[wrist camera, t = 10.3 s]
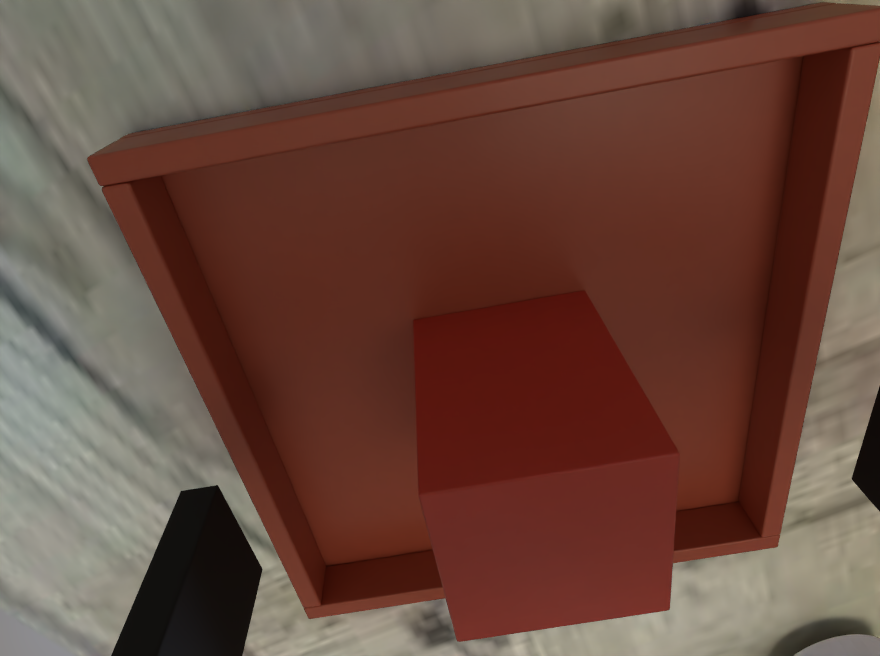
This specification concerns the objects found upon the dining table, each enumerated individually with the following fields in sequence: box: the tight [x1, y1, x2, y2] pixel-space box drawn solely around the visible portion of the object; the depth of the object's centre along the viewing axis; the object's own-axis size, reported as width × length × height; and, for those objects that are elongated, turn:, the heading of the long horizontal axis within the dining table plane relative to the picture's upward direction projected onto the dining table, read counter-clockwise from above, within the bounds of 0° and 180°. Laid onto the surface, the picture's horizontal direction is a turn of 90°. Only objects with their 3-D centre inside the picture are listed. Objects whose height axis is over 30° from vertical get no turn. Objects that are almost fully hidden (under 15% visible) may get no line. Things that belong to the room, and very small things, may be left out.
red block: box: [413, 290, 680, 642], centre depth 14 cm, size 4×4×6 cm
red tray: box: [87, 2, 880, 619], centre depth 16 cm, size 15×15×2 cm
